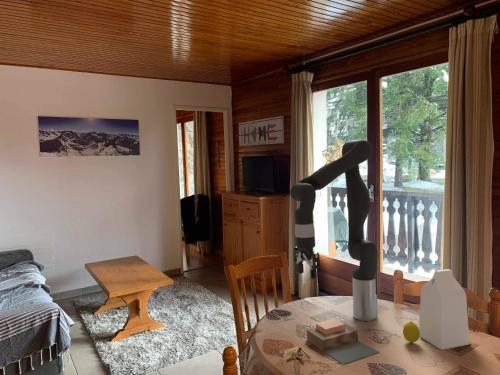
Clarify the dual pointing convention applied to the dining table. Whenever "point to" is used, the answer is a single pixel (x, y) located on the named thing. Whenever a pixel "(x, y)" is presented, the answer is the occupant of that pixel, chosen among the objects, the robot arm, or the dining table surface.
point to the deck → (332, 337)
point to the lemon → (411, 332)
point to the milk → (443, 311)
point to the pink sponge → (330, 326)
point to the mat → (351, 352)
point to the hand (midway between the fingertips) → (307, 275)
